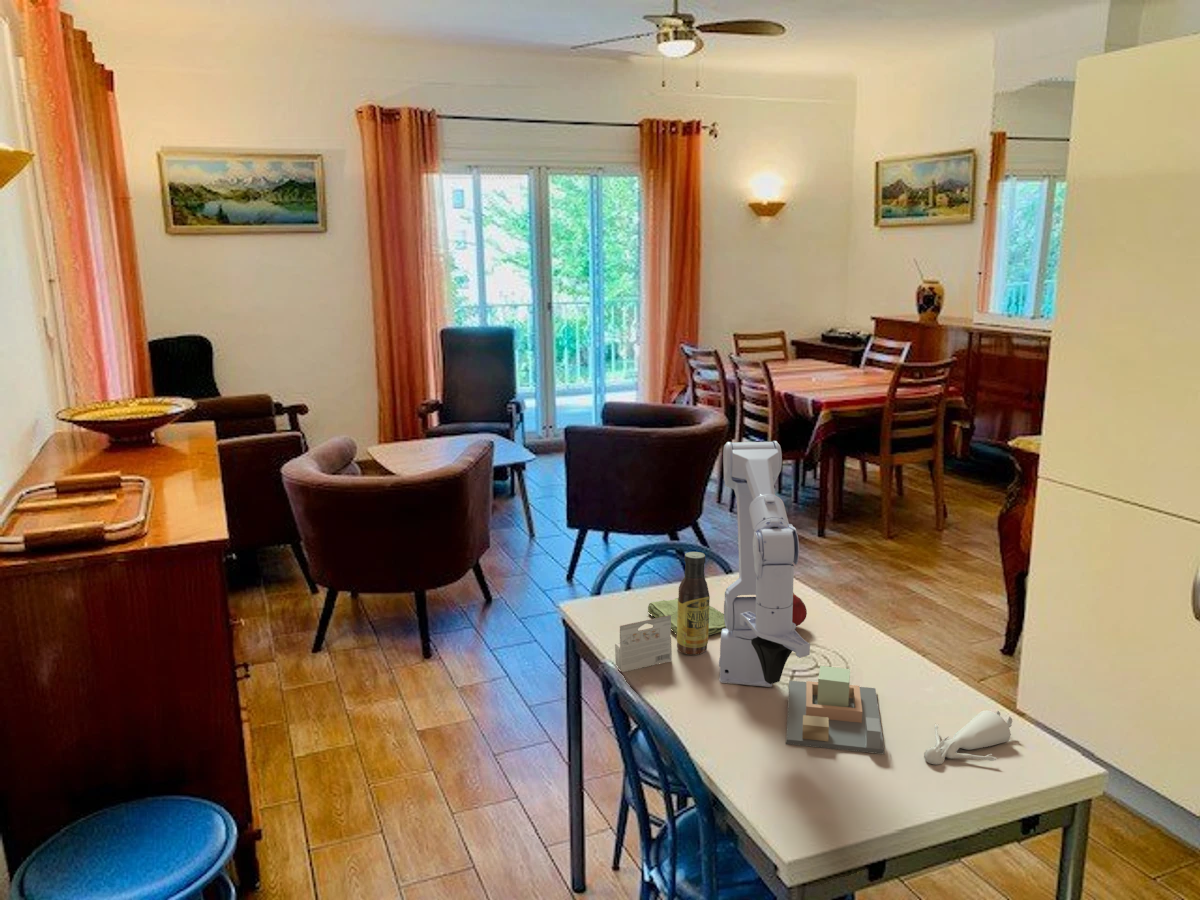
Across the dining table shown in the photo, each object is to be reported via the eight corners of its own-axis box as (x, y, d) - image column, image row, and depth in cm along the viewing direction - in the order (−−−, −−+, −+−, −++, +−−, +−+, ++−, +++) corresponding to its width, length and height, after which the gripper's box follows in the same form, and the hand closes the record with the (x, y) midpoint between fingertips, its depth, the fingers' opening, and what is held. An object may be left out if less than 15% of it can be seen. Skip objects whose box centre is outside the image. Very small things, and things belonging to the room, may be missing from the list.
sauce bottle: (687, 659, 170) (687, 562, 165) (670, 647, 175) (670, 553, 171) (715, 651, 172) (716, 556, 168) (697, 640, 178) (698, 547, 174)
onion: (810, 625, 184) (811, 589, 182) (800, 635, 179) (801, 599, 177) (783, 620, 187) (784, 584, 185) (773, 629, 182) (774, 593, 180)
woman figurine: (1037, 724, 136) (958, 764, 128) (1036, 749, 137) (957, 790, 129) (974, 692, 146) (897, 728, 138) (974, 716, 147) (897, 753, 139)
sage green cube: (817, 711, 148) (818, 678, 147) (819, 697, 153) (820, 665, 151) (847, 715, 147) (849, 682, 145) (848, 700, 151) (850, 669, 150)
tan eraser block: (802, 738, 140) (802, 724, 139) (802, 728, 143) (803, 715, 142) (828, 741, 139) (828, 727, 138) (827, 731, 142) (828, 717, 141)
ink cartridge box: (614, 668, 167) (613, 620, 165) (666, 656, 171) (666, 610, 169) (620, 673, 165) (619, 625, 162) (672, 662, 169) (672, 615, 167)
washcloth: (683, 645, 177) (683, 631, 176) (643, 614, 192) (643, 600, 192) (738, 633, 182) (738, 618, 181) (695, 603, 197) (695, 590, 197)
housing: (786, 743, 140) (786, 722, 139) (789, 684, 159) (789, 665, 158) (884, 754, 137) (885, 732, 136) (875, 692, 156) (876, 672, 155)
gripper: (826, 612, 133) (822, 693, 136) (764, 582, 145) (762, 657, 148) (790, 622, 130) (788, 705, 133) (730, 591, 142) (729, 667, 145)
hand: (772, 681), depth 140 cm, fingers closed
